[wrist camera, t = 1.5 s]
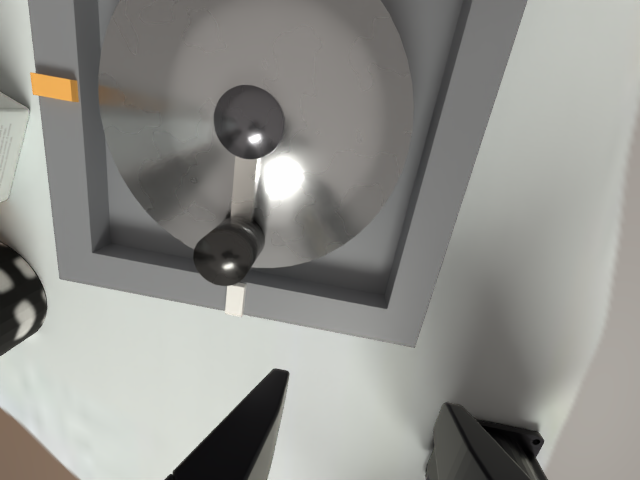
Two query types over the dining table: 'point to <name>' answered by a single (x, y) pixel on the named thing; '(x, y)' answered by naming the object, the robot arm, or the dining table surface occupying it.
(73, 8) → the grey square tray
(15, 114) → the small box
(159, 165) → the dial
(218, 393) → the dining table surface
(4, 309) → the spotted tube
